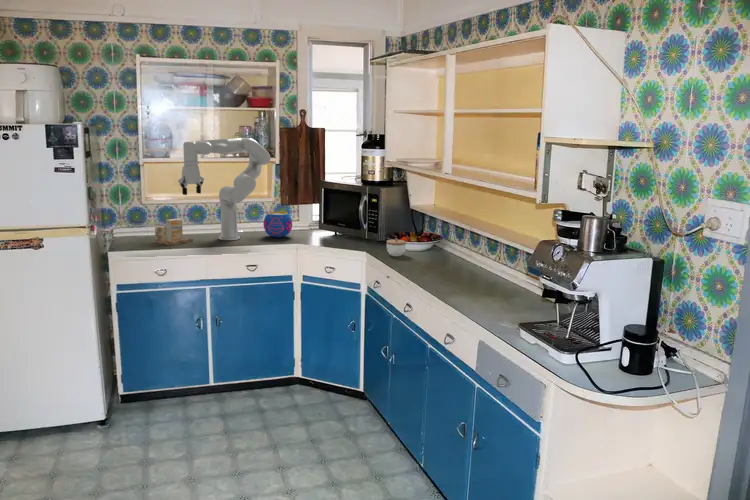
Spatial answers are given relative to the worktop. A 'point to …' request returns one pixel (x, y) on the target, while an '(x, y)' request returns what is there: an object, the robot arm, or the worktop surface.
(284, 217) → the ceramic pot
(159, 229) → the patterned wooden bookend
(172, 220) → the supplement box
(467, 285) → the worktop surface
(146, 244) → the worktop surface
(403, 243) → the lidded jar
